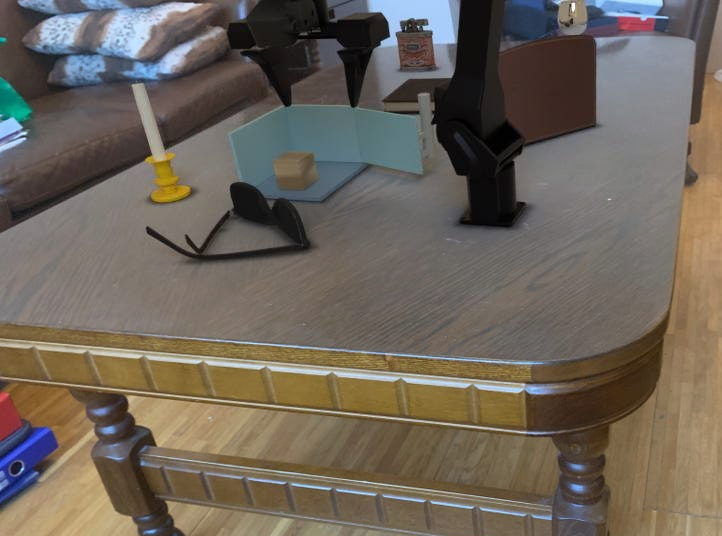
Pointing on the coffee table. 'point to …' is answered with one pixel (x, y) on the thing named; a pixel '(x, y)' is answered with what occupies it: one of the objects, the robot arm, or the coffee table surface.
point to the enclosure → (299, 148)
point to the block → (295, 170)
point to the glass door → (396, 137)
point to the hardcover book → (411, 95)
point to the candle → (158, 152)
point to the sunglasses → (252, 208)
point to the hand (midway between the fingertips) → (320, 106)
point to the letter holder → (550, 85)
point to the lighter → (415, 46)
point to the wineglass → (572, 17)
